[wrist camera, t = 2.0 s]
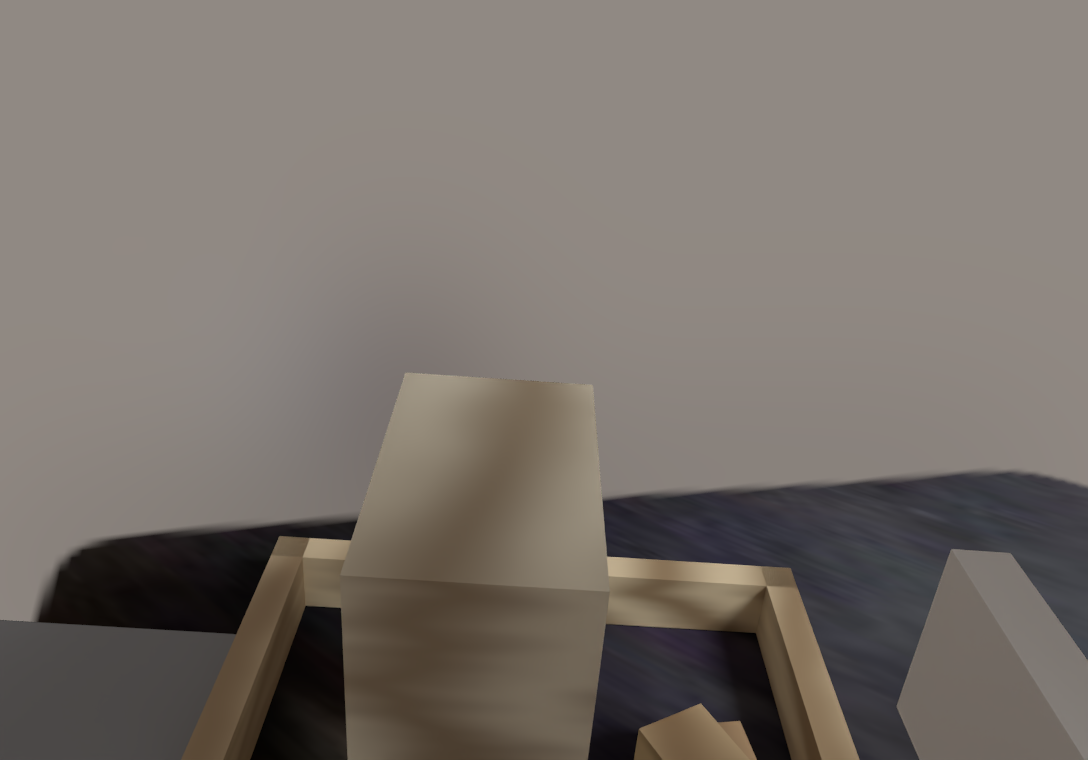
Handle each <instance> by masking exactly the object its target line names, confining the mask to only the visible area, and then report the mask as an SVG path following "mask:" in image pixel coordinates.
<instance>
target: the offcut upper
mask: <svg viewBox="0 0 1088 760" xmlns="http://www.w3.org/2000/svg"><path fill="white" fill-rule="evenodd" d="M634 760H750V759H749V758H748V757H747V756H746V755H745V754H744V753H743V751H742V750H741V749H740V748H739V747H738V746H737V744H736V743H735V742H734V741H733V740H732V739H731V738H730V736H729V735H728V734H727V733H726V732H725V731H724V730H723V728H722V727H721V726H720V725H719V724H718V723H717V721H716V720H715V719H714V718H713V717H712V716H711V715H710V713H709V712H708V711H707V710H706V709H705V708H704V707H703V705H702V704H698V705H696V706H693V707H691V708H689V709H686V710H684V711H681V712H679V713H676V714H674V715H672V716H669V717H667V718H664V719H662V720H659V721H657V722H655V723H652V724H650V725H647V726H645V727H642V728H640V729H639V732H638V738H637V744H636V750H635V756H634Z"/></svg>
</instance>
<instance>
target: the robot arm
mask: <svg viewBox="0 0 1088 760" xmlns="http://www.w3.org/2000/svg"><path fill="white" fill-rule="evenodd" d="M896 707H897V709H898V711H899V714H900V716H901V718H902V720H903V723H904V725H905V727H906V730H907V732H908V734H909V737H910V739H911V741H912V743H913V746H914V748H915V750H916V753H917V755H918V757H919V759H920V760H1088V660H1087V659H1086V657H1085V656H1084V655H1083V653H1082V652H1081V650H1080V649H1079V648H1078V646H1077V645H1076V644H1075V642H1074V641H1073V639H1072V638H1071V637H1070V635H1069V634H1068V632H1067V631H1066V630H1065V628H1064V627H1063V625H1062V624H1061V623H1060V621H1059V620H1058V619H1057V617H1056V616H1055V614H1054V613H1053V612H1052V610H1051V609H1050V607H1049V606H1048V605H1047V603H1046V602H1045V601H1044V599H1043V598H1042V596H1041V595H1040V594H1039V592H1038V591H1037V589H1036V588H1035V587H1034V585H1033V584H1032V582H1031V581H1030V580H1029V578H1028V577H1027V576H1026V574H1025V573H1024V571H1023V570H1022V569H1021V567H1020V566H1019V564H1018V563H1017V562H1016V560H1015V559H1014V558H1013V556H1012V555H1011V553H1000V552H986V551H971V550H957V549H951V551H950V554H949V557H948V560H947V563H946V566H945V569H944V571H943V574H942V577H941V580H940V583H939V586H938V589H937V591H936V594H935V597H934V600H933V603H932V606H931V609H930V612H929V614H928V617H927V620H926V623H925V626H924V629H923V632H922V635H921V637H920V640H919V643H918V646H917V649H916V652H915V655H914V658H913V660H912V663H911V666H910V669H909V672H908V675H907V678H906V680H905V683H904V686H903V689H902V692H901V695H900V698H899V701H898V703H897V706H896Z"/></svg>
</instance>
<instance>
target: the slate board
mask: <svg viewBox="0 0 1088 760" xmlns="http://www.w3.org/2000/svg"><path fill="white" fill-rule="evenodd" d="M235 636H236V634H224V633H207V632H190V631H174V630H157V629H140V628H124V627H107V626H90V625H73V624H57V623H40V622H23V621H7V620H0V760H181V759H182V756H183V754H184V752H185V750H186V747H187V745H188V743H189V741H190V738H191V736H192V734H193V731H194V729H195V727H196V725H197V722H198V720H199V718H200V716H201V713H202V711H203V709H204V707H205V704H206V702H207V700H208V697H209V695H210V693H211V691H212V688H213V686H214V684H215V682H216V679H217V677H218V675H219V673H220V670H221V668H222V666H223V663H224V661H225V659H226V657H227V654H228V652H229V650H230V648H231V645H232V643H233V641H234V639H235Z"/></svg>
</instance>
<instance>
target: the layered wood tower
mask: <svg viewBox="0 0 1088 760" xmlns="http://www.w3.org/2000/svg"><path fill="white" fill-rule="evenodd" d="M340 589H341V614H342V638H343V662H344V686H345V710H346V734H347V759H348V760H588V754H589V746H590V739H591V731H592V724H593V716H594V708H595V701H596V693H597V686H598V678H599V670H600V663H601V655H602V647H603V640H604V632H605V625H606V617H607V609H608V602H609V594H610V588H609V576H608V564H607V552H606V540H605V528H604V515H603V503H602V491H601V480H600V467H599V455H598V444H597V431H596V419H595V406H594V394H593V385H585V384H569V383H554V382H539V381H524V380H508V379H494V378H479V377H464V376H448V375H434V374H417V373H405V376H404V379H403V382H402V385H401V388H400V391H399V394H398V397H397V400H396V404H395V407H394V410H393V413H392V416H391V419H390V422H389V425H388V428H387V431H386V434H385V438H384V441H383V444H382V447H381V450H380V453H379V456H378V459H377V462H376V466H375V468H374V472H373V475H372V478H371V481H370V484H369V487H368V490H367V493H366V496H365V499H364V503H363V506H362V509H361V512H360V515H359V518H358V521H357V524H356V527H355V530H354V533H353V536H352V540H351V543H350V546H349V549H348V552H347V555H346V558H345V561H344V564H343V567H342V570H341V574H340Z"/></svg>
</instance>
